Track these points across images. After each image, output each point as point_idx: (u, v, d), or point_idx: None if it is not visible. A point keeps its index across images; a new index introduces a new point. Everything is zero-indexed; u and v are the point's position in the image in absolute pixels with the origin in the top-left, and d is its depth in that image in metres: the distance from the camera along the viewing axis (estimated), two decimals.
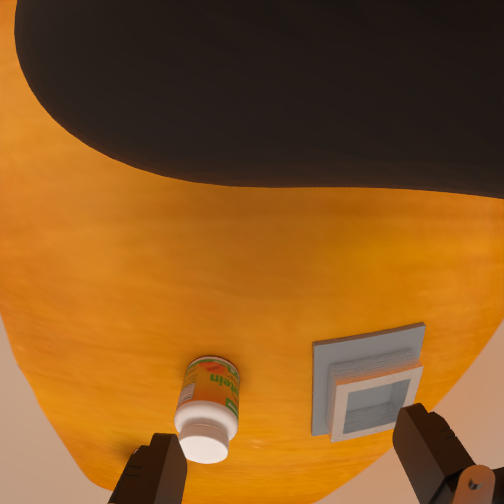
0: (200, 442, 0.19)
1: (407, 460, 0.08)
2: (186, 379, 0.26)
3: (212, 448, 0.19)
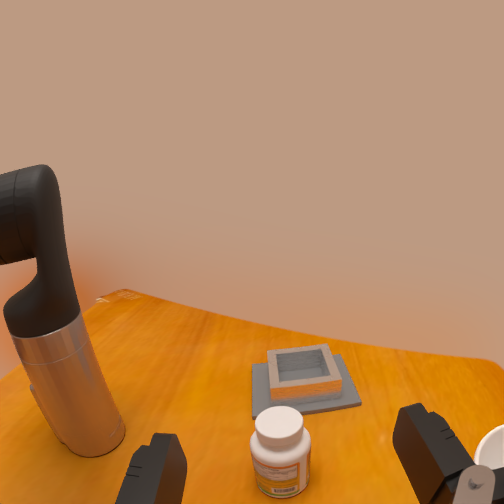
0: (264, 421, 0.22)
1: (407, 460, 0.08)
2: (262, 482, 0.22)
3: (273, 414, 0.23)
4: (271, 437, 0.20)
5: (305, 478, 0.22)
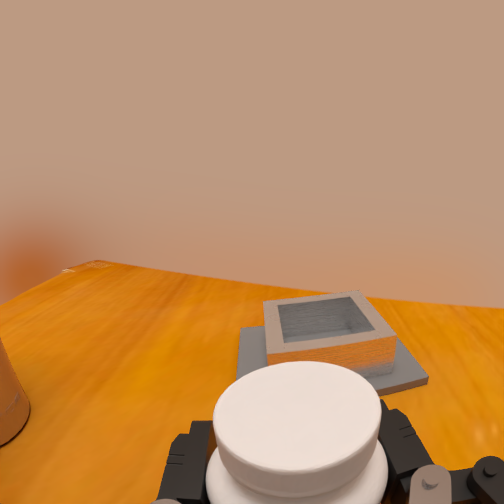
0: (245, 407, 0.07)
1: None
2: None
3: (278, 385, 0.07)
4: (268, 467, 0.05)
5: None
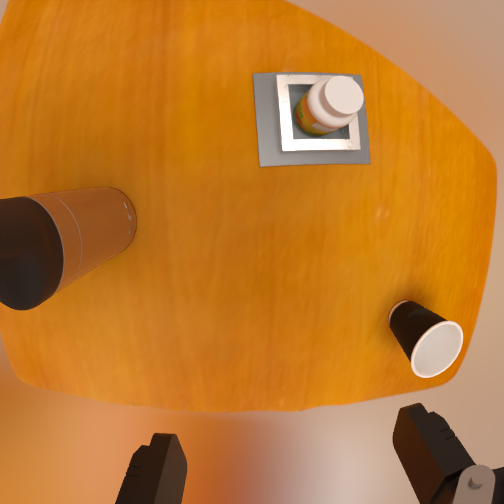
0: (335, 99, 0.24)
1: (407, 460, 0.08)
2: (318, 132, 0.32)
3: (336, 88, 0.24)
4: (350, 113, 0.25)
5: None
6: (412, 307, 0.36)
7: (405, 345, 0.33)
